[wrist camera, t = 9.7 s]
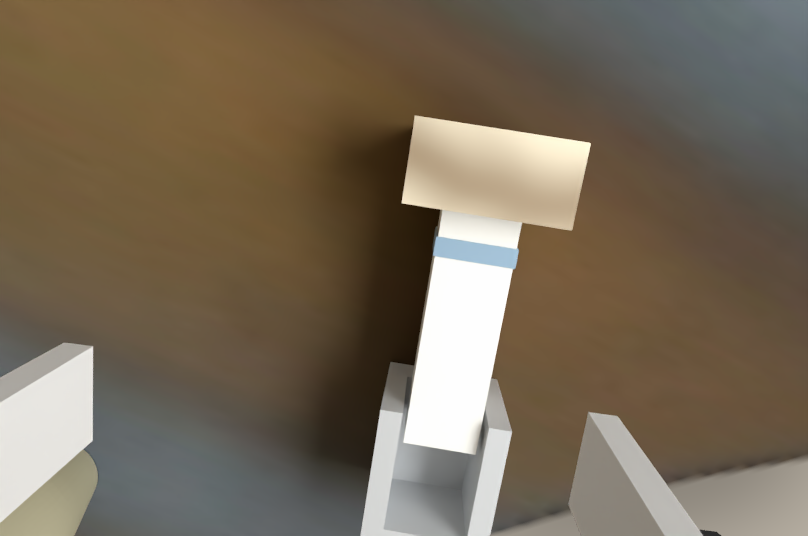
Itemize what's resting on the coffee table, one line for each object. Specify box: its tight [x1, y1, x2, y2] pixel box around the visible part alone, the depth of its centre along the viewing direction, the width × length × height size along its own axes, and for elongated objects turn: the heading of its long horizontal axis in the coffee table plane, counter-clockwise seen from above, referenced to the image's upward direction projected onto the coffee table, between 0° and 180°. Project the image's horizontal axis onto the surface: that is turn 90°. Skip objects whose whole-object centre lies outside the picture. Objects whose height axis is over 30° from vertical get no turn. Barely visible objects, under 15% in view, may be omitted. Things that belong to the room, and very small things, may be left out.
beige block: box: [402, 116, 591, 230], centre depth 29 cm, size 4×8×8 cm, turn 81°
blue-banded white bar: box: [403, 210, 522, 455], centre depth 31 cm, size 15×4×4 cm, turn 171°
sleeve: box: [361, 362, 512, 536], centre depth 33 cm, size 8×7×7 cm
